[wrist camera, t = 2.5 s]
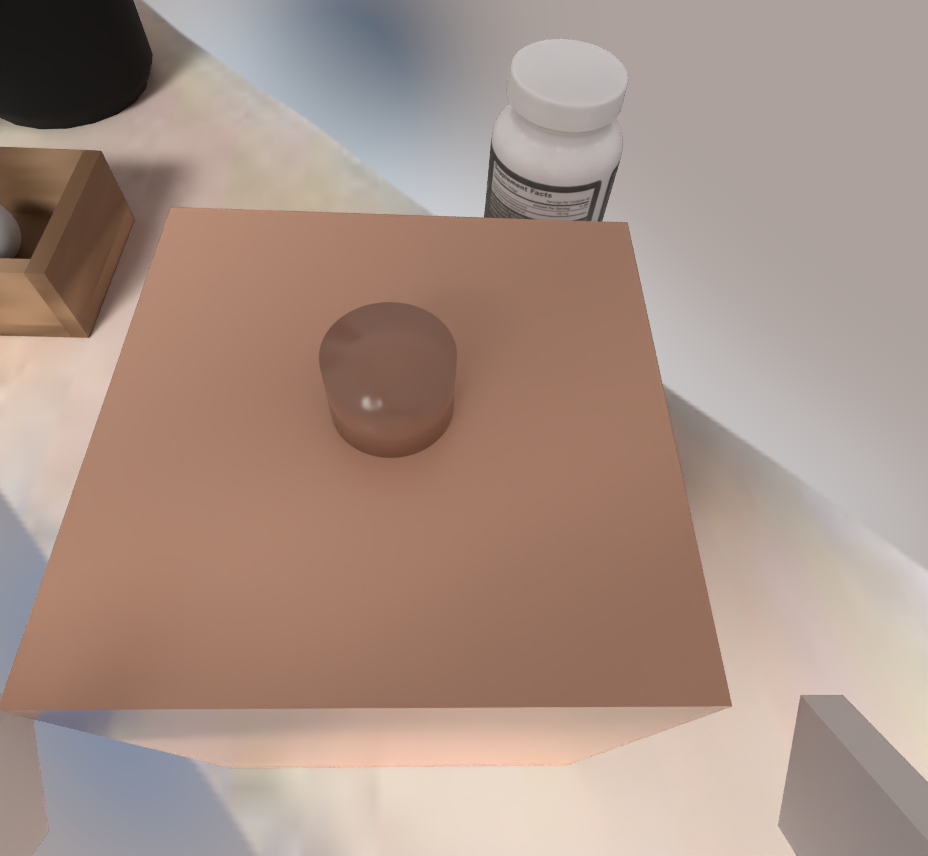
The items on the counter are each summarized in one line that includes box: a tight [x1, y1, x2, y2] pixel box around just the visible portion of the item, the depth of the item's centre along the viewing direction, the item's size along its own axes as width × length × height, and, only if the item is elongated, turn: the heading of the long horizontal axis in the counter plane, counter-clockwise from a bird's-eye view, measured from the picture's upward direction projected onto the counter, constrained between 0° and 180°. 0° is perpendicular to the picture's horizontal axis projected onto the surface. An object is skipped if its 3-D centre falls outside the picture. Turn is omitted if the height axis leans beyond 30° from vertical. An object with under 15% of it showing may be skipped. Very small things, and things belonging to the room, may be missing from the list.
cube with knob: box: [0, 207, 732, 768], centre depth 17 cm, size 11×11×15 cm
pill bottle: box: [484, 39, 628, 222], centre depth 29 cm, size 6×6×10 cm
